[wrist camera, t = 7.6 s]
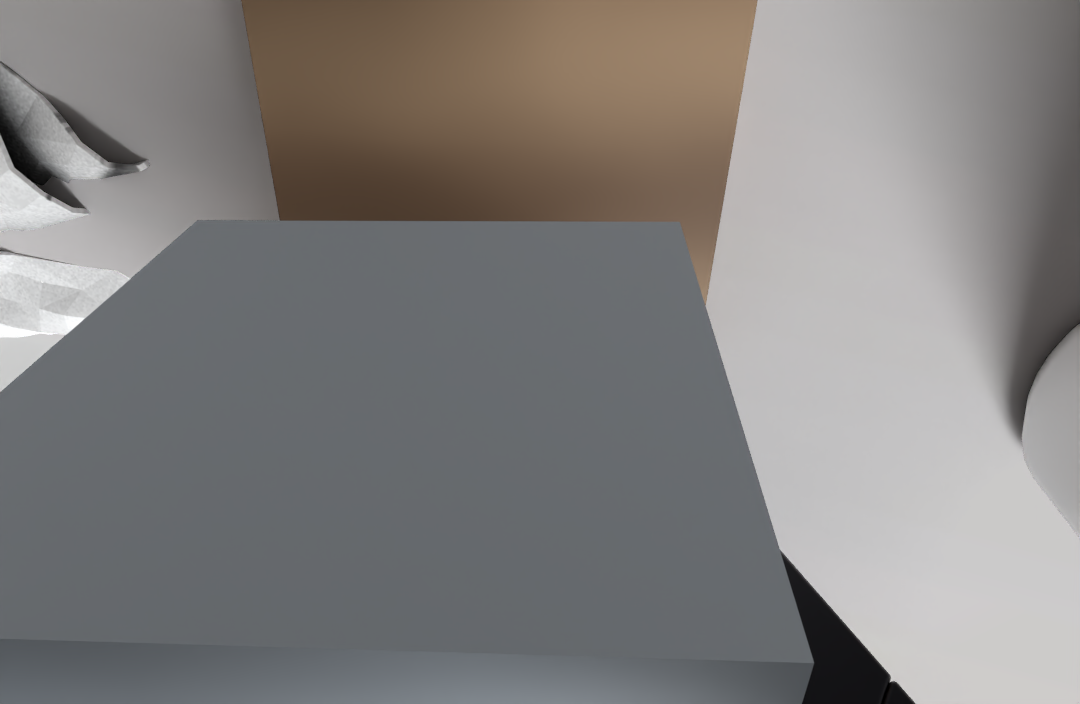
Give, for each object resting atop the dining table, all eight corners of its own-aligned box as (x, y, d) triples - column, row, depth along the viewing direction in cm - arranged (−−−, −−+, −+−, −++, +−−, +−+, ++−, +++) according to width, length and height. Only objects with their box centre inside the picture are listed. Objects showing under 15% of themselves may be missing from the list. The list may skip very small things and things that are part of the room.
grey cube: (648, 562, 12) (697, 1048, 7) (291, 553, 12) (93, 1014, 7) (679, 222, 9) (815, 663, 4) (196, 220, 9) (-275, 630, 4)
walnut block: (675, 347, 22) (688, 409, 19) (341, 331, 22) (309, 389, 19) (732, -32, 16) (760, -16, 14) (288, -48, 17) (235, -35, 14)
